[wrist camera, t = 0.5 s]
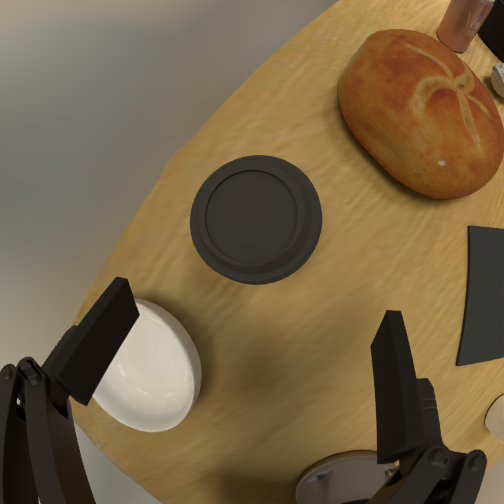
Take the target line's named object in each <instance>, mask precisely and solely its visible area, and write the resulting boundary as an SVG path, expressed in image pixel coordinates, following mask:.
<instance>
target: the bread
mask: <svg viewBox="0 0 504 504" xmlns="http://www.w3.org/2000/svg"><path fill="white" fill-rule="evenodd" d="M337 91H338V99H339V103H340V107H341V111H342V114H343V116H344V118H345V121H346V123H347V125H348V126H349V128H350V130H351V131H352V133H353V134H354V136H355V137H356V138H357V140H358V141H359V142H360V143H361V145H362V146H363V147H364V148H365V149H366V150H367V152H368V153H369V154H370V155H371V156H372V157H373V158H374V159H375V160H376V161H377V162H378V163H379V164H380V165H381V166H382V167H383V168H384V169H385V170H386V171H387V172H388V173H389V174H390V175H392V176H393V177H394V178H395V179H396V180H398V181H399V182H400V183H402V184H404V185H405V186H407V187H408V188H410V189H412V190H414V191H416V192H418V193H420V194H423V195H425V196H428V197H432V198H436V199H457V198H462V197H465V196H468V195H470V194H472V193H474V192H476V191H477V190H479V189H481V188H482V187H483V186H485V185H486V184H487V183H488V182H489V181H490V180H491V179H492V178H493V176H494V175H495V173H496V172H497V170H498V168H499V166H500V164H501V161H502V158H503V153H504V129H503V125H502V121H501V118H500V116H499V113H498V110H497V108H496V106H495V104H494V102H493V100H492V98H491V96H490V95H489V93H488V91H487V90H486V89H485V87H484V86H483V84H482V83H481V82H480V80H479V79H478V78H477V76H476V75H475V74H474V73H473V71H472V70H471V69H470V68H469V66H468V65H467V64H466V63H465V62H464V61H462V60H461V59H460V58H459V57H458V56H457V55H456V54H455V53H454V52H452V51H451V50H450V49H449V48H447V47H446V46H445V45H443V44H442V43H440V42H439V41H437V40H435V39H434V38H432V37H430V36H428V35H426V34H423V33H419V32H416V31H411V30H403V29H389V30H382V31H378V32H375V33H373V34H372V35H370V36H369V37H368V38H367V39H366V40H365V42H364V43H363V44H362V46H361V47H360V48H359V49H358V51H357V52H356V53H355V54H354V56H353V57H352V58H351V60H350V62H349V64H348V65H347V67H346V68H345V69H344V71H343V73H342V75H341V77H340V79H339V81H338V87H337Z"/></svg>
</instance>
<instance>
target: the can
mask: <svg viewBox="0 0 504 504" xmlns="http://www.w3.org/2000/svg"><path fill="white" fill-rule="evenodd" d="M485 426H486V427H487V428H488V429H489V430H490V431H491V432H492V433H493V434H494V436H495V437H496V438H497V439H498V440H499V441H500V442H501V443H502V444H503V445H504V395H503V396H501V397H499V398H498V399H497V400H496V401H495V402H494V403H493V404H492V406H491V407H490V409H489V410H488V412H487V415H486V419H485Z"/></svg>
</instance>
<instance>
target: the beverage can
mask: <svg viewBox="0 0 504 504" xmlns="http://www.w3.org/2000/svg"><path fill="white" fill-rule="evenodd" d="M494 2H495V0H451V2H450V4H449V6H448V8H447V11H446V13H445V15H444V17H443V19H442V21H441V23H440V26H439V28H438V30H437V34H438V37H439V39H440V41H441V42H442V43H443V44H444V45H445V46H446V47H448V48H449V49H451V50H453V51H455V52H464V51H466V49H467V48H468V46H469V44H470V43H471V41H472V40H473V38H474V37H475V35H476V34H477V32H478V31H479V29H480V27H481V26H482V24H483V23H484V21H485V19H486V18H487V16H488V14H489V13H490V11H491V9H492V8H493V6H494Z"/></svg>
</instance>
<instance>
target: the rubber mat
mask: <svg viewBox="0 0 504 504" xmlns="http://www.w3.org/2000/svg"><path fill="white" fill-rule="evenodd" d="M503 357H504V229H499V228H489V227H479V226H468V277H467V292H466V303H465V312H464V320H463V327H462V334H461V340H460V346H459V351H458V356H457V361H456V366H462V365H468V364H474V363H479V362H484V361H489V360H494V359H499V358H503Z"/></svg>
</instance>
